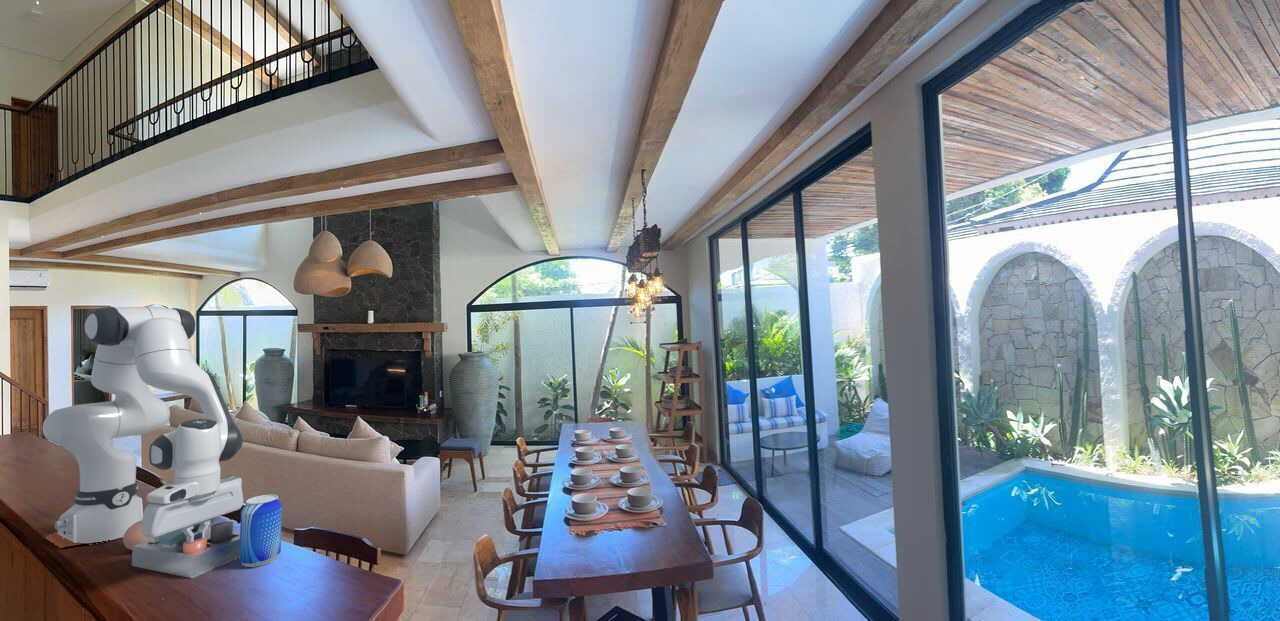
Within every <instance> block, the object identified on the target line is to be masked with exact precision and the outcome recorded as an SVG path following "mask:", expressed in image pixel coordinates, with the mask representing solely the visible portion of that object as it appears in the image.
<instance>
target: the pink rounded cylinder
mask: <svg viewBox="0 0 1280 621" xmlns="http://www.w3.org/2000/svg"><path fill="white" fill-rule="evenodd" d="M206 548H207V537H204V538H203V539H201V540H198V541H195V542H192V543H187V541H185V542H184V543H183V553H184V554H189V555H190V554H193V553H195V552H198V551H200V550H203V549H206Z"/></svg>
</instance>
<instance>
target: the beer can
mask: <svg viewBox="0 0 1280 621" xmlns="http://www.w3.org/2000/svg"><path fill="white" fill-rule="evenodd" d="M240 510H241V511H240V529H239V530H240V558H239V559H238V560H239V563H240V564H241V565H242V567H244V566H245V567H244V568H247V567H252V568H257V566H259V567H263V566H265V564H266V565H269V564H270V562H271V563H273V562H274V561H275V560H277V558H278V556H279V555H280V554H281V551H282V548H281V547H282V515H283V514H282V512H283V504H282V502H281V500H279V497H278V495H277V494H263V495H262V494H261V495H258V496H254V497H251V498H248V499H247V500H246V501H245V505H244V506H242V509H240ZM278 540H279V541H278ZM272 561H273V562H272ZM268 563H269V564H268ZM262 565H263V566H262Z"/></svg>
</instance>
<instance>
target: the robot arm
mask: <svg viewBox="0 0 1280 621" xmlns="http://www.w3.org/2000/svg"><path fill="white" fill-rule="evenodd" d="M195 331H196V319H195V317H194V315H193V314H192V313H191V311H189V310H186V309H182V308H176V307H172V308H168V307H160V306H159V307H157V306H124V307H123V306H122V307H114V306H106V307H100V308H95V309H94V310H93V311H91V312H90V313H89V314H88V315H87V318H86V320H85V323H84V332H85V335H86V337H87V339H88V341H91V342H92V343H93V344H96V346H97V347H96V350H95V353H94V354H95V355H94V359H93V364H92V369H91V370H92V371H91V376H90V383H91V384H92V386H93V387H94V388H96V389H97V390H99V391H101V392H104V393H108V394H111V395H115V398H114V399H113V400H111V401H102V402H94V403H93V402H91V403H83V404H82V403H80V404H75V405H71V406H67V407H63V408H58V409H55V410H53V411H52V412H51V413H49V414H48V415H47V416H46V418H45V419H44V421H43V423H42V432H43V433H42V434H43V435H44V437H45V439H47V441H49V442H51V443H52V444H55V445H58V446H60V447H62V448H64V449H65V450H67V451H69V452H70V453H71V454H72V455H73V456H74V458H75V460H76V461H77V463H78V468H79V490H76V491H75V493H76V494H75V498H74V504H73V505H72V506H70V508H69V509H67V510H66V511H65V512H63V513H62V514H61V515H60V516H59V518H58V520H56V521H55V522H54V529H55V530H57V531H58V533H57V534H59V535H60V536H62V537H63V538H62V539H64V538H66V539H68V540H69V541H72V542H74V543H78V542H79V543H93V542H101V543H103V542H102V541H106V542H109V541H108V540H110V541H112V540H116V539H117V540H118V539H120V538H121V539H122V538H123V537H124V534H125V532H126V531H127V529H128V528H129V527H130V526H132V525H133V524H135V523H136V522H138V521H141V520H142V526H141V532H142V534H143V535H144V536H146V537H152V538H154V537H158V536H161V535H165V534H167V533H170V532H173V531H176V530H179V529H181V530H182V532H183V533H184V534H185V535H186V536H187V538H186V541H187V543H192V542H195V541H198V540H201V539H203V538H204V537H205V531H206V529H207V528H208V526H209V527H210V525H211V523H210V519H212V518H215V517H220V516H224V515H226V514H229V513H233V512H236V511H239V510H241V508H243V505H244V496H243V489H242V488H243V487H242V485H243V483H242V482H243V479H242V478H241V477H240V476H239V475H238V476H237V475H231V476H226V477H222V478H221V471H222V469H221V465H220V462H226V461H229V460H231V459H232V458H233V457H235V456H236V455H237V453H238V452H239V451H240V450H241V448H242V446H243V435H242V433H241V430H240V429H239V427H238V426H237V425H236V423H235V422H234V420H233V418H232V415H231V413H230V411H229V408H228V407H227V404H226V402H225V399H224V397H223V395H222V393H221V390H220V388H219V386H218V383H217V382H216V380H215V378H214V376H213V375H212V374H211V373H210V372H208V371H206V370H204V369H202V368H201V367H200V365H199V364H198V363H197V361H196V359H195V358H194V356H193V351H192V347H191V344H190V339H191V338H192V337H193V336H194V335H195V334H194V333H195ZM149 386H150V387H152V388H155V389H158V390H162V391H167V392H174V393H179V394H181V395H185V396H188V397H191V398H193V399H195V401H197V402H198V404H199V407H200V408H201V410H202V412H203V415H204V417H205V418H197V419H195V418H194V419H189V420H185V421H182V422H181V423H180V424H178V426H177V428H176V429H174V430H173V431H170V432H168V433H164V434H160V435H159V436H158V437H157V438H156V439H154V441H152V443H151V444H150V446H149V451H148V452H149V453H148V454H149V456H148V457H149V463H150V465H151V466H153V467H154V468H156V469H158V470H160V471H173V470H174V475H173V479H172V481H169V482H168V483H166V484H164V485H162V486H160V487H158V488H157V489H155V490H153V491H151V492H149V493H148V494H147V495H146V501H147V502H148V503H149V504H147V505H146V506H145V508H144V509H143V499H142V498H141V497H140V496H137V494H138V490H139V485H138V481H137V478H136V477H137V458H136V456H135V454H134V453H133V452H131V451H127V450H123V449H119V448H114V447H112V446H111V440H113V439H118V438H124V437H125V438H126V437H131V436H138V435H143V434H148V433H150V432H154V431H157V430H161V429H162V428H164V426H166V425H167V423H168V421H169V420H170V417H171V410H170V407H169V405H168V403H166V402H165V401H164V400H163V399H160V398H159V397H157V396H156V395H154V394H153V393H152V392H151V390H150V388H149ZM197 523H198V524H201V525H200V527H199V529H198V531H197V532H195V533H193V532H192V531H191V529H193V527H194V524H197Z"/></svg>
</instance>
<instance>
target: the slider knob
mask: <svg viewBox="0 0 1280 621" xmlns="http://www.w3.org/2000/svg"><path fill="white" fill-rule="evenodd" d="M164 535H165V534H164ZM164 535H161V536H158V537H154V538H152V537H147V542H152V543H156V542H159V538H160V537H162V536H164Z"/></svg>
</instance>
